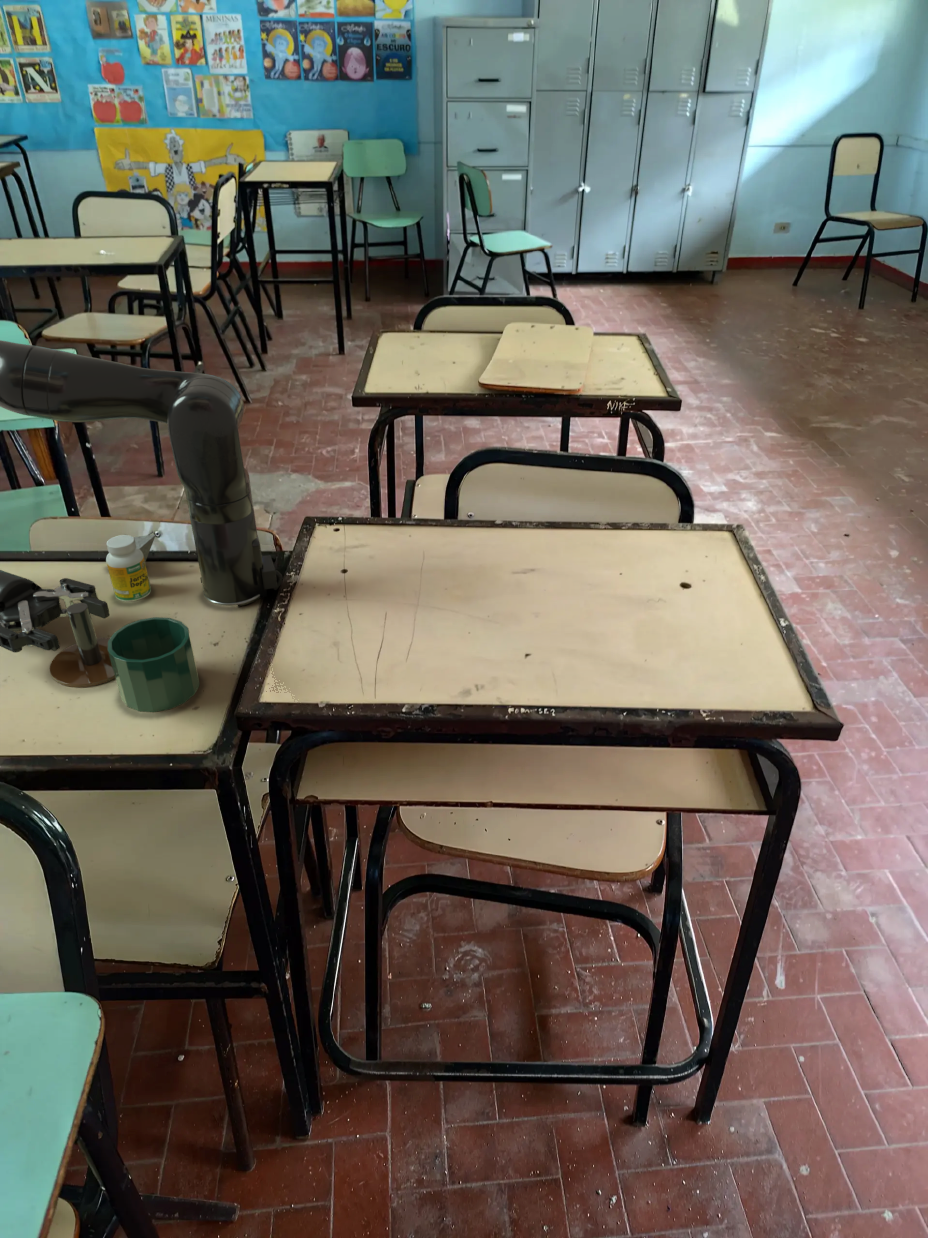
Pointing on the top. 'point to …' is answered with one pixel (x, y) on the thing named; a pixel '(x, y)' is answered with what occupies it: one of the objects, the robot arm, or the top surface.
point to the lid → (83, 654)
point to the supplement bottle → (127, 569)
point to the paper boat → (144, 543)
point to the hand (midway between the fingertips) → (82, 627)
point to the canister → (154, 664)
